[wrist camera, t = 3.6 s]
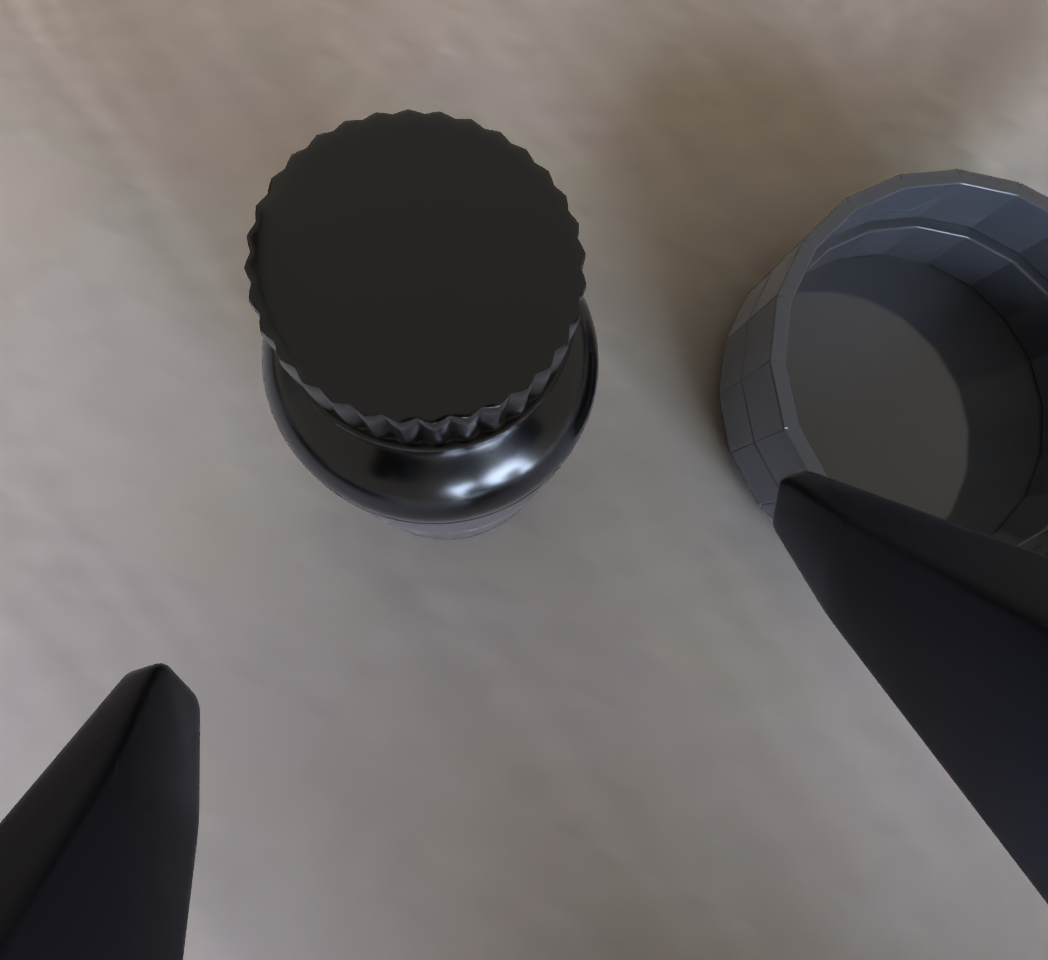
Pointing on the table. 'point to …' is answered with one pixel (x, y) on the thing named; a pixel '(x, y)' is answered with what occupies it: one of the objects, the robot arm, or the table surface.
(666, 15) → the table surface
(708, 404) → the table surface
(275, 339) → the supplement bottle
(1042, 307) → the pan
